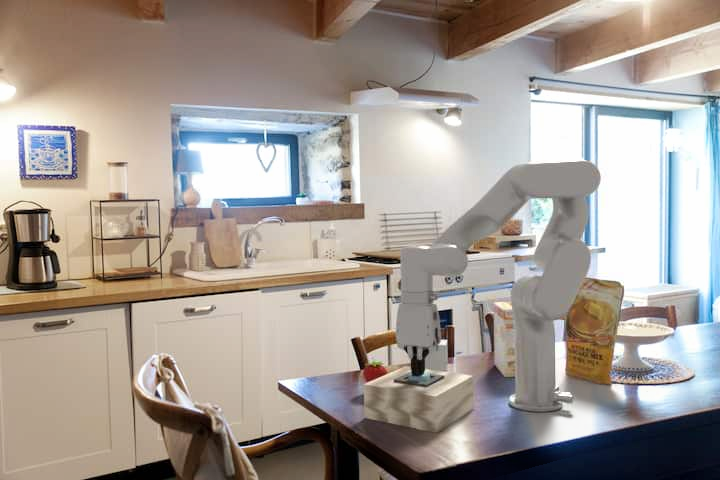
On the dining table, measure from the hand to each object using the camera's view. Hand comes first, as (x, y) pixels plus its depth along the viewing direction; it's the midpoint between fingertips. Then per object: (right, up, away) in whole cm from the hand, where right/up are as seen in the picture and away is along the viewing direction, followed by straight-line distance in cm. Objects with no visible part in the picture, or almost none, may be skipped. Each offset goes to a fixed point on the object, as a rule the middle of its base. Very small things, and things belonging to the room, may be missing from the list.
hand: (417, 374), depth 147 cm
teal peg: (+1, -7, 0) cm, 7 cm away
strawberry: (-10, -9, +17) cm, 22 cm away
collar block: (+1, -9, 0) cm, 9 cm away
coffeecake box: (+31, -7, +37) cm, 48 cm away
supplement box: (+6, -8, +21) cm, 23 cm away
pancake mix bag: (+51, -7, +26) cm, 57 cm away
